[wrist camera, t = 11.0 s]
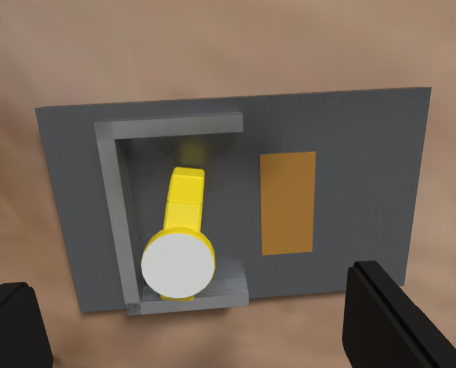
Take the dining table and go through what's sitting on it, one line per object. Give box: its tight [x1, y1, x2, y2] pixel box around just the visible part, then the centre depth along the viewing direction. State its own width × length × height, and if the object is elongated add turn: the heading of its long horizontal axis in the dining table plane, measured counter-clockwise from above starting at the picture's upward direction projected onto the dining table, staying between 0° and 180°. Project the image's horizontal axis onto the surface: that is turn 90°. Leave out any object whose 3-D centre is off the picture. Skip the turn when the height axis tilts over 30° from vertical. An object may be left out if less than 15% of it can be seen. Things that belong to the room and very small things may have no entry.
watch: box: [141, 167, 215, 301], centre depth 15 cm, size 6×3×6 cm, turn 174°
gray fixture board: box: [35, 87, 431, 316], centre depth 18 cm, size 20×12×3 cm, turn 93°
